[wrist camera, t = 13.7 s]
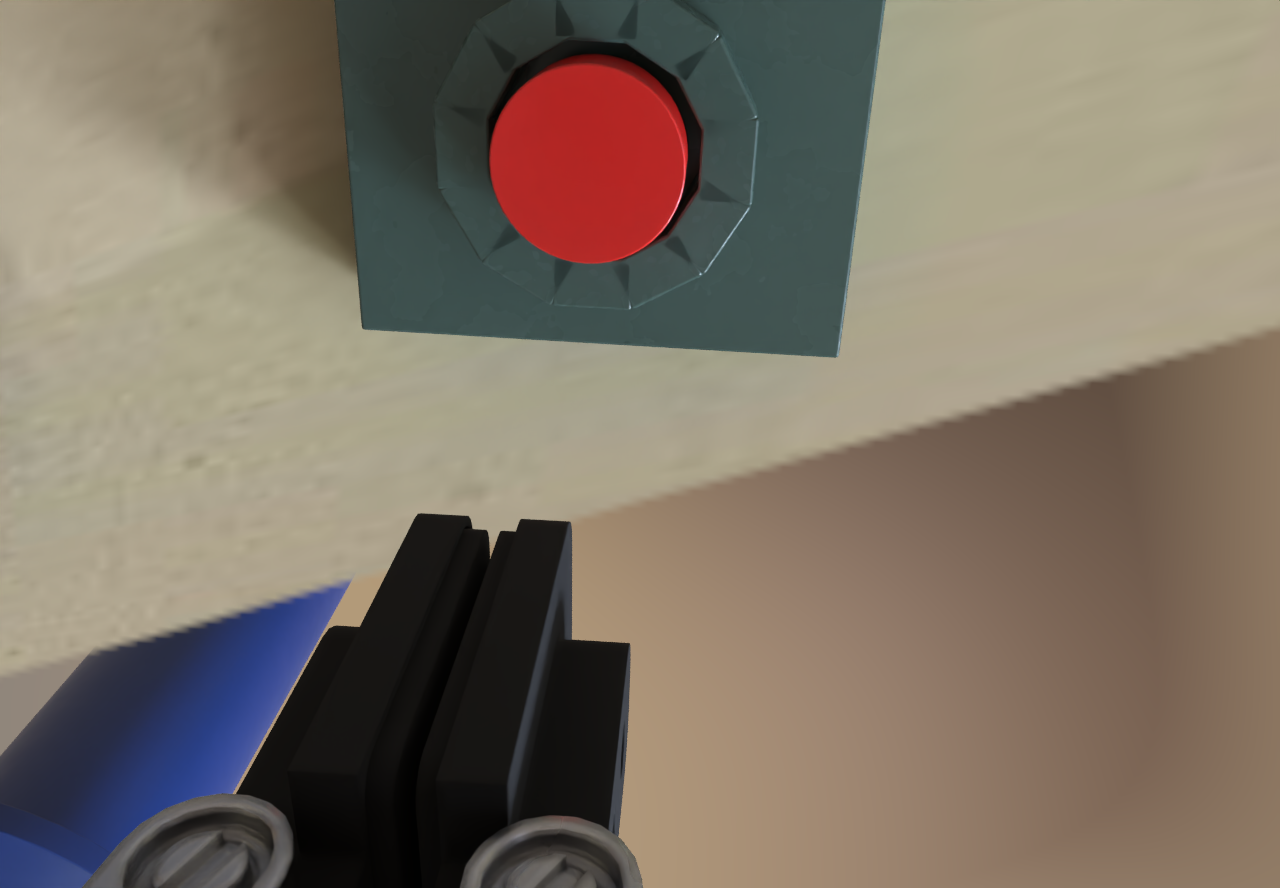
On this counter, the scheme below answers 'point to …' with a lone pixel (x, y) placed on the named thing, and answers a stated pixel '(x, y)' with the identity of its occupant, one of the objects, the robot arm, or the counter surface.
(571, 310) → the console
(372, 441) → the counter surface
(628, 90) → the button
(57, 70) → the counter surface
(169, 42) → the counter surface
